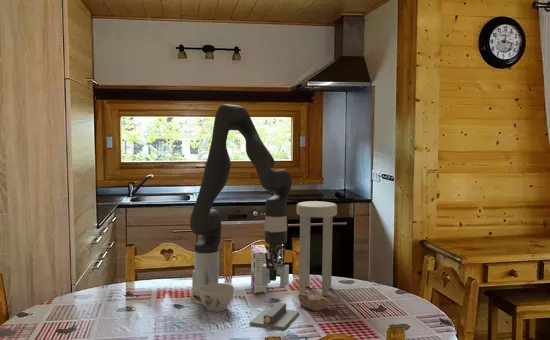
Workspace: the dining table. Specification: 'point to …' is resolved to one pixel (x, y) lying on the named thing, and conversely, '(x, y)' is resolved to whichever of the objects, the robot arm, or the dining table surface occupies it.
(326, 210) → the stool
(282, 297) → the dining table surface
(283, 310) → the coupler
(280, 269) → the grey arch block
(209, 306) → the teacup
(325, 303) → the stone
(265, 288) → the candy box
